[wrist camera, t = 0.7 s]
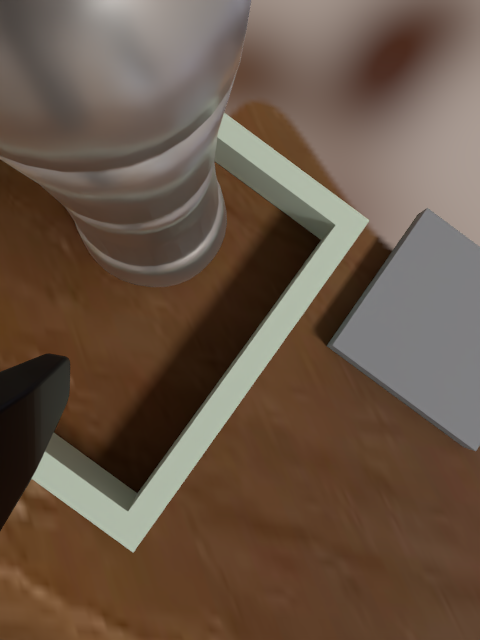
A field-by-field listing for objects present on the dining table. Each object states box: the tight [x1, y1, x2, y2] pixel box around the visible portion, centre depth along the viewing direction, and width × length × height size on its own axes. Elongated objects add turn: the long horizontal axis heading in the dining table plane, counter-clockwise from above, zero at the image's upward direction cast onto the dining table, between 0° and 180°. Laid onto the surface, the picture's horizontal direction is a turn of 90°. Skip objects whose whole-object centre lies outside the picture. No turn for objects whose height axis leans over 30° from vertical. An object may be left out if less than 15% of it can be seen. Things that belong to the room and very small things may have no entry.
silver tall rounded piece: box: [0, 0, 251, 287], centre depth 12 cm, size 6×7×20 cm
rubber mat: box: [327, 208, 480, 451], centre depth 22 cm, size 9×9×1 cm
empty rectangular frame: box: [32, 113, 369, 552], centre depth 20 cm, size 18×18×2 cm
